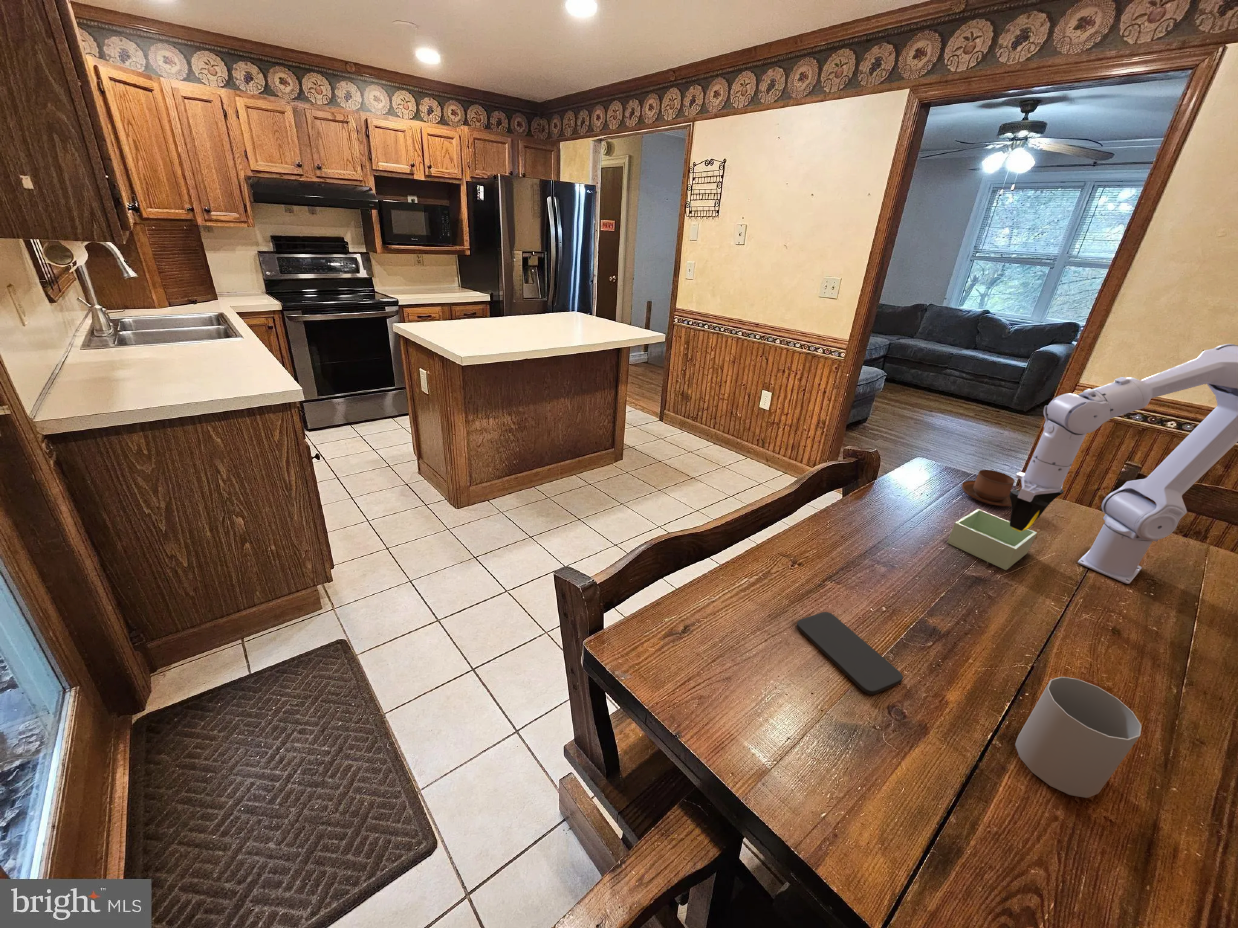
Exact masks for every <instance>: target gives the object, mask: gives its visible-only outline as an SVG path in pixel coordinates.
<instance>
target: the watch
mask: <svg viewBox="0 0 1238 928" xmlns="http://www.w3.org/2000/svg"><path fill="white" fill-rule="evenodd" d="M1038 514H1039V511H1038V512H1037V513H1036V514H1035V516H1034V517H1033V518H1032V520H1031V521H1030V522H1029V524H1028V525H1027V526H1026V528H1025V529H1024V530H1028V529H1029V530H1030V528H1031V527H1032V526H1033V524H1034V523H1035V520H1036V518H1037V516H1038ZM1036 521H1037V520H1036ZM1012 528H1013V527H1012ZM1013 529H1014V530H1017V531H1019V532H1021V531H1020V530H1018V529H1015V528H1013ZM1024 530H1022V531H1024Z"/></svg>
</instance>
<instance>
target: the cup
mask: <svg viewBox="0 0 1238 928" xmlns="http://www.w3.org/2000/svg"><path fill="white" fill-rule="evenodd" d="M1141 733H1142V724H1141V722H1140V720H1139V719H1138V718H1137V716H1136V714H1135V713H1134V711H1133V710H1131V708H1129V707H1128V706H1127V705H1126V704H1125V703H1123V702H1122V701H1121V700H1120V699H1119V698H1118V697H1116V696H1115V695H1114V694H1111V693H1110V692H1108V691H1106V690H1104V689H1103V688H1102V687H1100V686H1098V685H1095V684H1092V683H1090V682H1087V681H1084V680H1082V679H1080V678H1074V677H1068V676H1059V677H1055V678H1051V679H1050V680H1049V681H1048V683H1047V685H1046V687H1045V688H1044V690H1043V692H1042V693H1041V695H1040V697H1039V699H1038V701H1037V702H1036V704H1035V706H1034V708H1033V709H1032V711H1031V713H1030V714H1029V716H1028V717H1027V720H1026V721H1025V723H1024V725H1023V727H1022V729H1020V732H1019V734H1018V735H1017V738H1016V741H1015V743H1014V746H1015V749H1016V751H1017V754H1018V757H1019V758H1020V760H1021V761H1022V762H1023V764H1024V765H1025V766H1026V767H1027V768H1028V769H1029V771H1030V772H1031V773H1032V774H1034V775H1035V776H1036V777H1037V778H1039V779H1040V780H1042V781H1043V782H1044V783H1045V784H1047V785H1048V786H1050V787H1052V788H1054V789H1056V790H1058V791H1060V792H1063V793H1064V794H1066V795H1068V796H1074V797H1079V798H1085V799H1089V798H1091V797H1093V796H1095V795H1098V794H1099V793H1101V791H1102V789H1103V788H1104V787H1105V785H1106V784H1107V782H1108V781H1109V779H1110V778H1111V777H1112V776H1113V774H1114V773H1115V771H1116V770H1117V769H1118V767H1120V764H1122V762H1123V760H1124V759H1125V757H1127V755H1128V753H1129V752H1130V751H1131V750H1132V748H1133V747H1134V745H1136V742H1137V741H1138V740H1139V738H1141Z"/></svg>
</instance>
